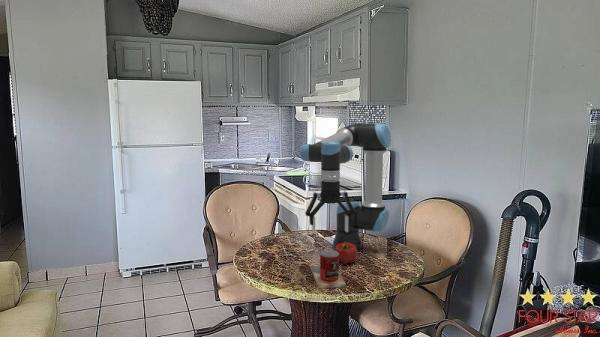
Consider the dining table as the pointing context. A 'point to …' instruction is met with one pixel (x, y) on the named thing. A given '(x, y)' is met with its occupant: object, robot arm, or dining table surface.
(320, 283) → the board
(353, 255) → the red apple
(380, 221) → the robot arm
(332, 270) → the canned food
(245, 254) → the dining table surface
